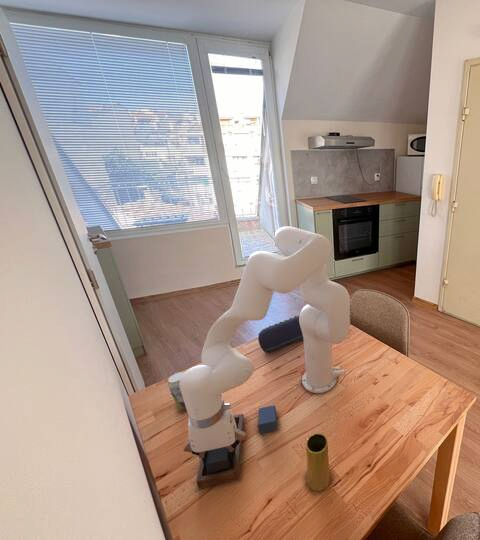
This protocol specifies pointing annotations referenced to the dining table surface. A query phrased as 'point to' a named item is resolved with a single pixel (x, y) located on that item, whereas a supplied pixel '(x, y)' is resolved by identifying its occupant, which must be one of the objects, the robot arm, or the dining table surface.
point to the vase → (317, 462)
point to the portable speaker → (280, 334)
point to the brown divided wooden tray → (226, 475)
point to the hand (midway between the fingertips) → (220, 459)
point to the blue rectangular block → (267, 419)
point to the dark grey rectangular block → (217, 460)
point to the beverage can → (176, 389)
